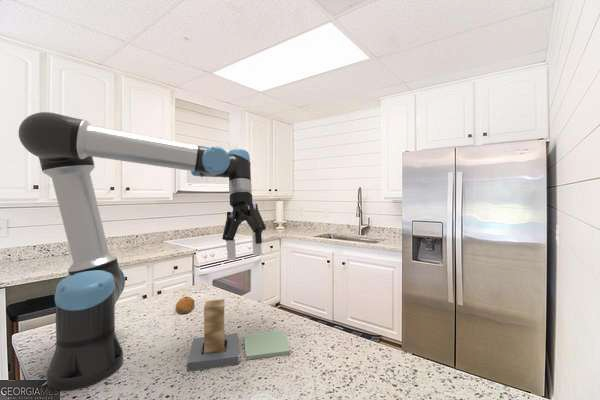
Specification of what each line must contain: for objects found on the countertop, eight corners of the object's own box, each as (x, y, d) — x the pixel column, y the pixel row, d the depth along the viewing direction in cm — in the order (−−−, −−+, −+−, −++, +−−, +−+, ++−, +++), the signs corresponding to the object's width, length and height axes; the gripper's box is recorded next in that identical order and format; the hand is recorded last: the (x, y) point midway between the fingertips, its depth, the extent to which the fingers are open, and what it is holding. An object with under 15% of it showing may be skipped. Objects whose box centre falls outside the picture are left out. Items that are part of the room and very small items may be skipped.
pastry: (194, 313, 105) (193, 303, 105) (174, 316, 103) (173, 305, 103) (194, 304, 114) (194, 294, 114) (176, 306, 112) (176, 296, 112)
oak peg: (204, 360, 75) (204, 307, 75) (205, 350, 80) (205, 300, 80) (223, 358, 76) (223, 306, 76) (224, 348, 81) (224, 299, 81)
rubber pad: (245, 360, 76) (245, 356, 75) (243, 337, 87) (243, 334, 87) (290, 354, 78) (290, 350, 78) (282, 333, 90) (282, 330, 90)
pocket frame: (186, 371, 71) (186, 363, 71) (193, 345, 83) (193, 338, 83) (238, 364, 74) (238, 356, 74) (237, 340, 86) (237, 333, 86)
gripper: (273, 185, 91) (279, 252, 86) (229, 204, 107) (231, 261, 102) (255, 181, 86) (259, 252, 80) (211, 201, 102) (212, 262, 96)
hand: (244, 257), depth 91 cm, fingers open, 13 cm apart
